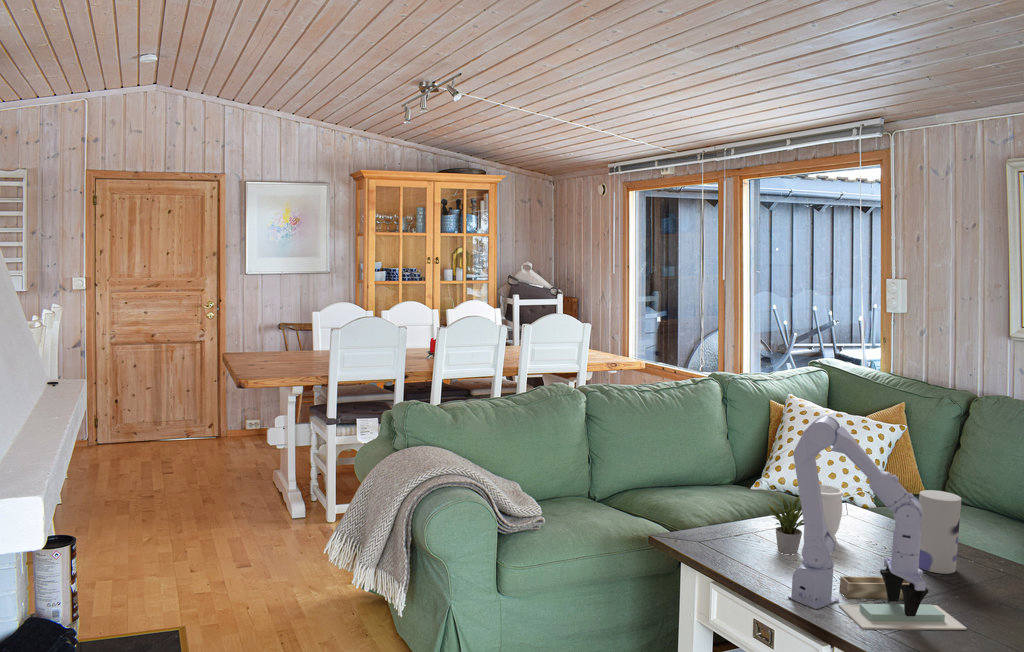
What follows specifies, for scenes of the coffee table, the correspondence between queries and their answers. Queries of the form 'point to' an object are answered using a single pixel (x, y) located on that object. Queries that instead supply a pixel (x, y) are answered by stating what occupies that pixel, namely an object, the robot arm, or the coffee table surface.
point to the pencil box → (865, 588)
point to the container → (939, 531)
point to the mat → (867, 624)
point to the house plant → (788, 527)
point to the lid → (901, 613)
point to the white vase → (832, 507)
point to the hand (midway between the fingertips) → (901, 608)
